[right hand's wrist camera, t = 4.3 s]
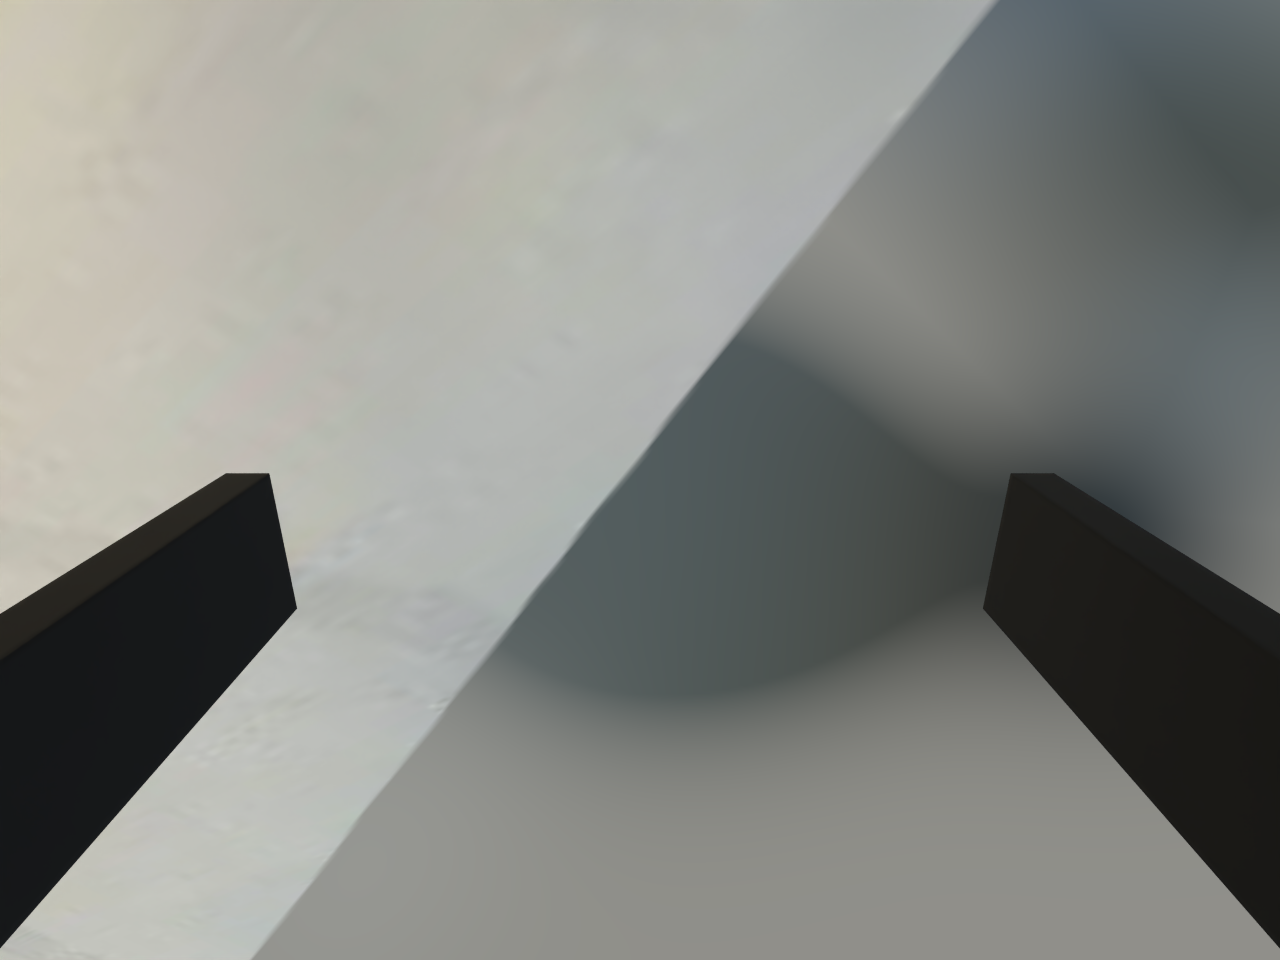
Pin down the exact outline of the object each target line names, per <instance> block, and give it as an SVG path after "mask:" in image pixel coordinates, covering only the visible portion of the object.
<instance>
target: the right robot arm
mask: <svg viewBox="0 0 1280 960" xmlns="http://www.w3.org/2000/svg"><path fill="white" fill-rule="evenodd" d="M296 609H297V606H296V601H295V596H294V591H293V587H292V582H291V577H290V572H289V567H288V562H287V557H286V553H285V548H284V543H283V538H282V533H281V528H280V523H279V518H278V514H277V509H276V504H275V499H274V494H273V489H272V484H271V479H270V475H269V473H226V474H224V475H223V476H221V477H219V478H218V479H216V480H215V481H213V482H211V483H210V484H208V485H207V486H205V487H203V488H202V489H200V490H199V491H197V492H195V493H194V494H192V495H191V496H189V497H187V498H186V499H184V500H182V501H181V502H179V503H178V504H176V505H174V506H173V507H171V508H170V509H168V510H166V511H165V512H163V513H162V514H160V515H158V516H157V517H155V518H154V519H152V520H150V521H149V522H147V523H146V524H144V525H142V526H141V527H139V528H137V529H136V530H134V531H133V532H131V533H129V534H128V535H126V536H125V537H123V538H121V539H120V540H118V541H117V542H115V543H113V544H112V545H110V546H109V547H107V548H105V549H104V550H102V551H101V552H99V553H97V554H96V555H94V556H92V557H91V558H89V559H88V560H86V561H84V562H83V563H81V564H80V565H78V566H76V567H75V568H73V569H72V570H70V571H68V572H67V573H65V574H64V575H62V576H60V577H59V578H57V579H56V580H54V581H52V582H51V583H49V584H48V585H46V586H44V587H43V588H41V589H39V590H38V591H36V592H35V593H33V594H31V595H30V596H28V597H27V598H25V599H23V600H22V601H20V602H19V603H17V604H15V605H14V606H12V607H11V608H9V609H7V610H6V611H4V612H3V613H1V614H0V948H1V947H2V946H3V944H4V943H5V942H6V941H7V940H8V939H9V938H10V936H11V935H12V934H13V933H14V932H15V931H16V930H17V928H18V927H19V926H20V925H21V924H22V923H23V922H24V920H25V919H26V918H27V917H28V916H29V915H30V914H31V912H32V911H33V910H34V909H35V908H36V907H37V906H38V904H39V903H40V902H41V901H42V900H43V899H44V898H45V896H46V895H47V894H48V893H49V892H50V891H51V890H52V888H53V887H54V886H55V885H56V884H57V883H58V882H59V880H60V879H61V878H62V877H63V876H64V875H65V874H66V872H67V871H68V870H69V869H70V868H71V867H72V865H73V864H74V863H75V862H76V861H77V860H78V859H79V857H80V856H81V855H82V854H83V853H84V852H85V851H86V849H87V848H88V847H89V846H90V845H91V844H92V843H93V841H94V840H95V839H96V838H97V837H98V836H99V835H100V833H101V832H102V831H103V830H104V829H105V828H106V827H107V825H108V824H109V823H110V822H111V821H112V820H113V819H114V817H115V816H116V815H117V814H118V813H119V812H120V811H121V809H122V808H123V807H124V806H125V805H126V804H127V803H128V801H129V800H130V799H131V798H132V797H133V796H134V795H135V793H136V792H137V791H138V790H139V789H140V788H141V786H142V785H143V784H144V783H145V782H146V781H147V780H148V778H149V777H150V776H151V775H152V774H153V773H154V772H155V770H156V769H157V768H158V767H159V766H160V765H161V764H162V762H163V761H164V760H165V759H166V758H167V757H168V756H169V754H170V753H171V752H172V751H173V750H174V749H175V748H176V746H177V745H178V744H179V743H180V742H181V741H182V740H183V738H184V737H185V736H186V735H187V734H188V733H189V732H190V730H191V729H192V728H193V727H194V726H195V725H196V724H197V722H198V721H199V720H200V719H201V718H202V717H203V716H204V714H205V713H206V712H207V711H208V710H209V709H210V708H211V706H212V705H213V704H214V703H215V702H216V701H217V699H218V698H219V697H220V696H221V695H222V694H223V693H224V691H225V690H226V689H227V688H228V687H229V686H230V685H231V683H232V682H233V681H234V680H235V679H236V678H237V677H238V675H239V674H240V673H241V672H242V671H243V670H244V669H245V667H246V666H247V665H248V664H249V663H250V662H251V661H252V659H253V658H254V657H255V656H256V655H257V654H258V653H259V651H260V650H261V649H262V648H263V647H264V646H265V645H266V643H267V642H268V641H269V640H270V639H271V638H272V637H273V635H274V634H275V633H276V632H277V631H278V630H279V629H280V627H281V626H282V625H283V624H284V623H285V622H286V620H287V619H288V618H289V617H290V616H291V615H292V614H293V612H294V611H295V610H296ZM983 609H984V610H985V611H986V612H987V614H988V615H989V616H990V617H991V618H992V619H993V621H994V622H995V623H996V624H997V625H998V626H999V627H1000V629H1001V630H1002V631H1003V632H1004V633H1005V634H1006V635H1007V637H1008V638H1009V639H1010V640H1011V641H1012V642H1013V643H1014V645H1015V646H1016V647H1017V648H1018V649H1019V650H1020V651H1021V652H1022V654H1023V655H1024V656H1025V657H1026V658H1027V659H1028V660H1029V662H1030V663H1031V664H1032V665H1033V666H1034V667H1035V669H1036V670H1037V671H1038V672H1039V673H1040V674H1041V675H1042V677H1043V678H1044V679H1045V680H1046V681H1047V682H1048V683H1049V685H1050V686H1051V687H1052V688H1053V689H1054V690H1055V691H1056V693H1057V694H1058V695H1059V696H1060V697H1061V698H1062V699H1063V701H1064V702H1065V703H1066V704H1067V705H1068V706H1069V708H1070V709H1071V710H1072V711H1073V712H1074V713H1075V714H1076V716H1077V717H1078V718H1079V719H1080V720H1081V721H1082V722H1083V723H1084V725H1085V726H1086V727H1087V728H1088V729H1089V730H1090V731H1091V733H1092V734H1093V735H1094V736H1095V737H1096V738H1097V739H1098V741H1099V742H1100V743H1101V744H1102V745H1103V746H1104V748H1105V749H1106V750H1107V751H1108V752H1109V753H1110V754H1111V755H1112V757H1113V758H1114V759H1115V760H1116V761H1117V762H1118V764H1119V765H1120V766H1121V767H1122V768H1123V769H1124V770H1125V772H1126V773H1127V774H1128V775H1129V776H1130V777H1131V778H1132V780H1133V781H1134V782H1135V783H1136V784H1137V785H1138V786H1139V788H1140V789H1141V790H1142V791H1143V792H1144V793H1145V795H1146V796H1147V797H1148V798H1149V799H1150V800H1151V801H1152V802H1153V804H1154V805H1155V806H1156V807H1157V808H1158V809H1159V811H1160V812H1161V813H1162V814H1163V815H1164V816H1165V817H1166V819H1167V820H1168V821H1169V822H1170V823H1171V824H1172V825H1173V827H1174V828H1175V829H1176V830H1177V831H1178V832H1179V833H1180V835H1181V836H1182V837H1183V838H1184V839H1185V840H1186V841H1187V843H1188V844H1189V845H1190V846H1191V847H1192V848H1193V849H1194V851H1195V852H1196V853H1197V854H1198V855H1199V856H1200V857H1201V859H1202V860H1203V861H1204V862H1205V863H1206V864H1207V865H1208V867H1209V868H1210V869H1211V870H1212V871H1213V872H1214V874H1215V875H1216V876H1217V877H1218V878H1219V879H1220V880H1221V882H1222V883H1223V884H1224V885H1225V886H1226V887H1227V888H1228V890H1229V891H1230V892H1231V893H1232V894H1233V895H1234V896H1235V898H1236V899H1237V900H1238V901H1239V902H1240V903H1241V904H1242V906H1243V907H1244V908H1245V909H1246V910H1247V911H1248V912H1249V914H1250V915H1251V916H1252V917H1253V918H1254V919H1255V920H1256V922H1257V923H1258V924H1259V925H1260V926H1261V927H1262V928H1263V930H1264V931H1265V932H1266V933H1267V934H1268V935H1269V936H1270V938H1271V939H1272V940H1273V941H1274V942H1275V943H1276V944H1277V946H1278V947H1279V948H1280V614H1279V613H1277V612H1276V611H1274V610H1273V609H1271V608H1269V607H1268V606H1266V605H1265V604H1263V603H1261V602H1260V601H1258V600H1257V599H1255V598H1253V597H1252V596H1250V595H1248V594H1247V593H1245V592H1244V591H1242V590H1241V589H1239V588H1237V587H1236V586H1234V585H1232V584H1231V583H1229V582H1228V581H1226V580H1224V579H1223V578H1221V577H1220V576H1218V575H1216V574H1215V573H1213V572H1212V571H1210V570H1208V569H1207V568H1205V567H1204V566H1202V565H1200V564H1199V563H1197V562H1195V561H1194V560H1192V559H1191V558H1189V557H1188V556H1186V555H1184V554H1183V553H1181V552H1179V551H1178V550H1176V549H1175V548H1173V547H1171V546H1170V545H1168V544H1167V543H1165V542H1163V541H1162V540H1160V539H1159V538H1157V537H1155V536H1154V535H1152V534H1151V533H1149V532H1147V531H1146V530H1144V529H1143V528H1141V527H1139V526H1138V525H1136V524H1134V523H1133V522H1131V521H1130V520H1128V519H1126V518H1125V517H1123V516H1122V515H1120V514H1118V513H1117V512H1115V511H1114V510H1112V509H1110V508H1109V507H1107V506H1106V505H1104V504H1102V503H1101V502H1099V501H1098V500H1096V499H1094V498H1093V497H1091V496H1089V495H1088V494H1086V493H1085V492H1083V491H1081V490H1080V489H1078V488H1077V487H1075V486H1073V485H1072V484H1070V483H1069V482H1067V481H1065V480H1064V479H1062V478H1061V477H1059V476H1057V475H1056V474H1054V473H1011V475H1010V479H1009V484H1008V490H1007V494H1006V499H1005V504H1004V509H1003V514H1002V518H1001V523H1000V528H999V533H998V538H997V543H996V548H995V553H994V557H993V562H992V567H991V572H990V577H989V582H988V587H987V591H986V596H985V601H984V606H983Z"/></svg>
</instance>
